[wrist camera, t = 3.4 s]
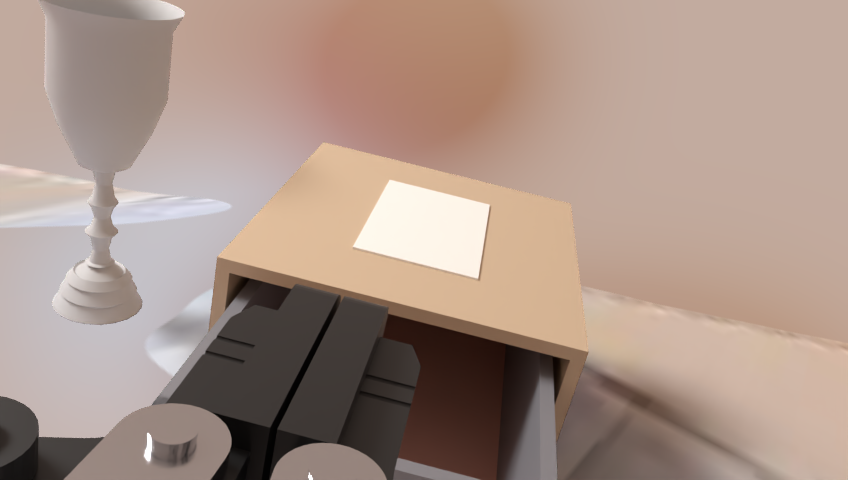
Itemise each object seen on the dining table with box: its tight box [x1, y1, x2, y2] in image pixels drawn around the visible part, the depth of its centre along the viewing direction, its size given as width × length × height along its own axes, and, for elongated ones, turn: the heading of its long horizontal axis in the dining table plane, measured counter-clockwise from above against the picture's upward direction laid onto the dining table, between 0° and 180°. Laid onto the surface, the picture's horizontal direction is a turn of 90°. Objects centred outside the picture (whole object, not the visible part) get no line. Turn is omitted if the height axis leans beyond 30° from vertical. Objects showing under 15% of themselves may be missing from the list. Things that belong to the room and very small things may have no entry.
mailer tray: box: [151, 278, 557, 480], centre depth 39 cm, size 26×14×8 cm, turn 172°
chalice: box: [38, 0, 185, 325], centre depth 44 cm, size 7×7×18 cm
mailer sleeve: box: [209, 142, 588, 442], centre depth 43 cm, size 18×16×11 cm
